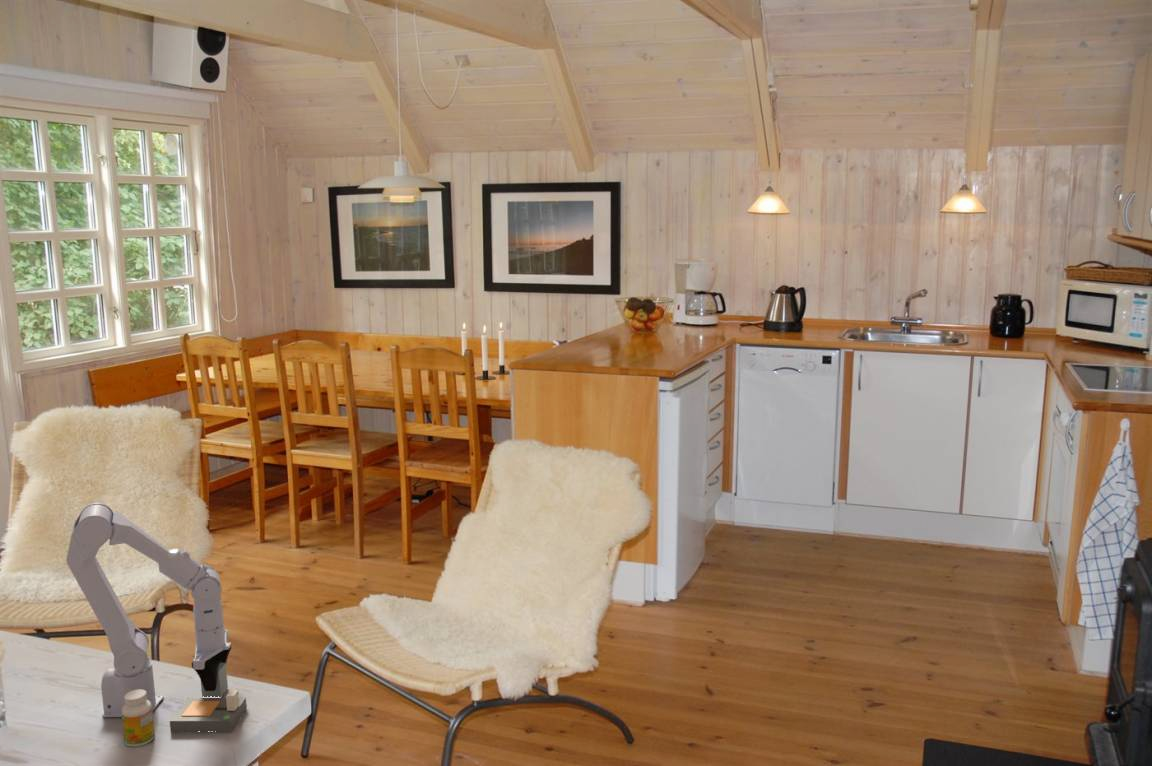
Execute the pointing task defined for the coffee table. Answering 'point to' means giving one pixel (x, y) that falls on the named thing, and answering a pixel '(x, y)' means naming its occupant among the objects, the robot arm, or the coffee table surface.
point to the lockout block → (218, 683)
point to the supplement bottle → (137, 718)
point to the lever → (232, 700)
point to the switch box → (206, 715)
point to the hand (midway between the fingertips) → (214, 684)
